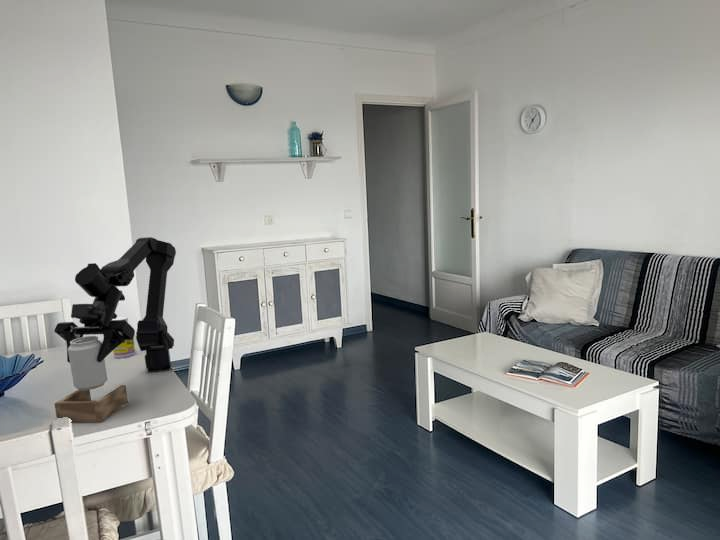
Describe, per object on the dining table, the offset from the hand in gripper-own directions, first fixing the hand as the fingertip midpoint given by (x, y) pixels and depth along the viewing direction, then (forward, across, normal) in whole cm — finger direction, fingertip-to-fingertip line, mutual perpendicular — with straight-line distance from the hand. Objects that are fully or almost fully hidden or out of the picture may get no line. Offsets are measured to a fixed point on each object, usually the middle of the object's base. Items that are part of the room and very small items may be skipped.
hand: (83, 361), depth 132 cm
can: (+4, 0, +6) cm, 7 cm away
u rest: (+9, 0, +10) cm, 13 cm away
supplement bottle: (-24, -20, +44) cm, 54 cm away
